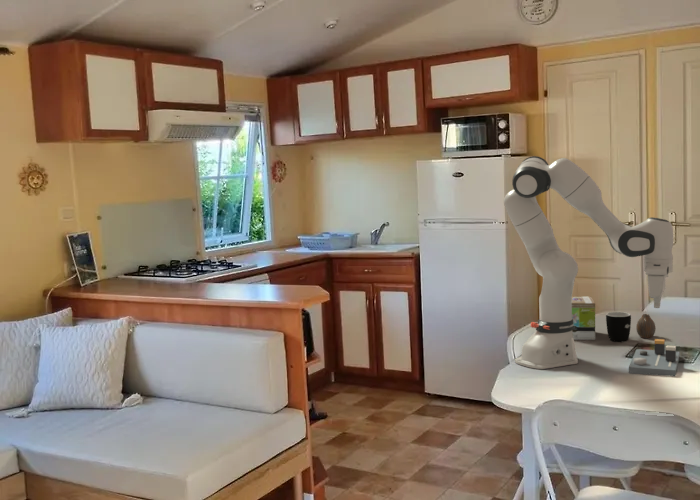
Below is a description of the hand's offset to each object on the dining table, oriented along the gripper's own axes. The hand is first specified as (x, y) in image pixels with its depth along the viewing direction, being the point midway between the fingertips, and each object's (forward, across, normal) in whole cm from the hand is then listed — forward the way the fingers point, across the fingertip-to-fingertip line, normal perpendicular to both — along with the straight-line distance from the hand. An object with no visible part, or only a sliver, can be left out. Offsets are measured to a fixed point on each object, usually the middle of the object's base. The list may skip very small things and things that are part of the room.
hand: (657, 307), depth 254 cm
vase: (+19, -39, -6) cm, 44 cm away
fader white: (+17, +2, +5) cm, 18 cm away
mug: (+20, -32, -15) cm, 41 cm away
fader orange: (+17, -6, +1) cm, 18 cm away
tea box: (+20, -35, -30) cm, 50 cm away
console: (+19, +1, 0) cm, 19 cm away
